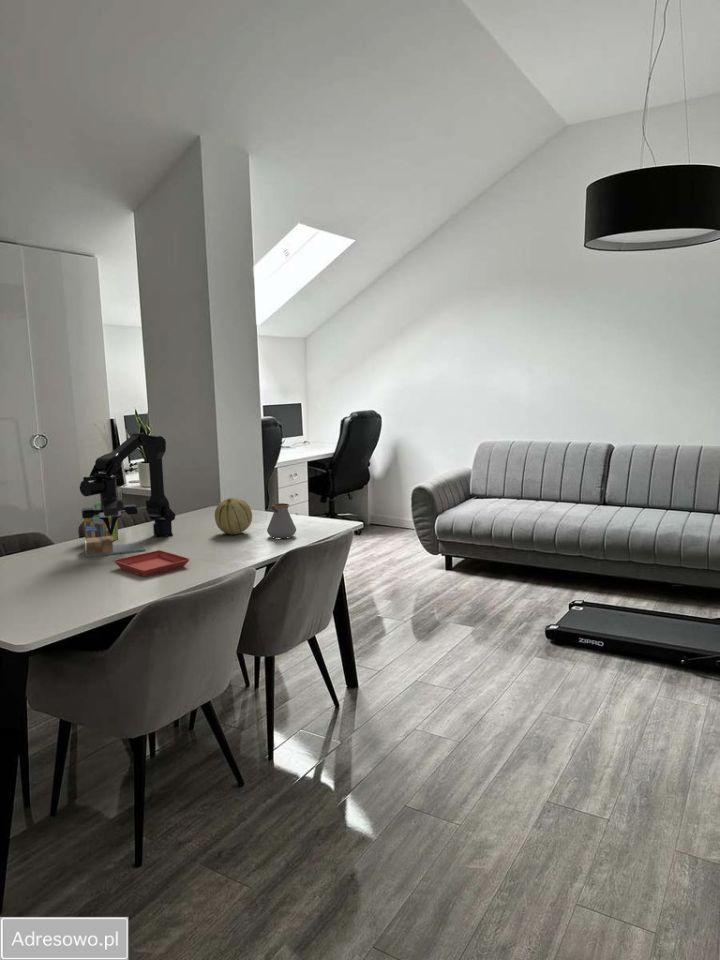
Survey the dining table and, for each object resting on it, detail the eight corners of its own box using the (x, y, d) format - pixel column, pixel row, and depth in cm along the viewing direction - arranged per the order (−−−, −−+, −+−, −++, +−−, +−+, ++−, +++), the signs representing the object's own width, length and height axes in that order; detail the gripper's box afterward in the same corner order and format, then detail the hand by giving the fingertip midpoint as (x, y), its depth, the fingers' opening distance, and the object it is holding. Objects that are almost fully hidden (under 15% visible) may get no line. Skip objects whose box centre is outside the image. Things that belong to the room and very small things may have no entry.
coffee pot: (270, 533, 284) (269, 496, 282) (299, 533, 283) (298, 496, 280) (257, 546, 263) (256, 506, 261) (288, 547, 262) (287, 507, 259)
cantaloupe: (254, 529, 291) (253, 493, 289) (250, 537, 277) (249, 499, 274) (218, 530, 291) (217, 493, 288) (212, 538, 276) (210, 500, 274)
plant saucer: (191, 567, 236) (191, 558, 236) (143, 580, 223) (143, 569, 222) (159, 558, 248) (159, 549, 247) (112, 570, 234) (112, 560, 234)
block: (110, 536, 261) (84, 538, 258) (112, 540, 254) (85, 543, 250) (111, 546, 262) (84, 549, 258) (113, 551, 255) (86, 554, 251)
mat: (141, 543, 268) (140, 542, 268) (145, 551, 257) (145, 549, 257) (84, 549, 260) (84, 548, 260) (86, 557, 249) (86, 555, 249)
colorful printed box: (106, 544, 267) (104, 506, 265) (84, 543, 269) (81, 505, 267) (119, 539, 276) (117, 501, 274) (98, 538, 278) (95, 501, 276)
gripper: (81, 497, 244) (84, 542, 246) (138, 493, 252) (140, 536, 254) (80, 492, 254) (82, 535, 256) (134, 488, 262) (136, 530, 264)
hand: (110, 534), depth 257 cm, fingers closed
